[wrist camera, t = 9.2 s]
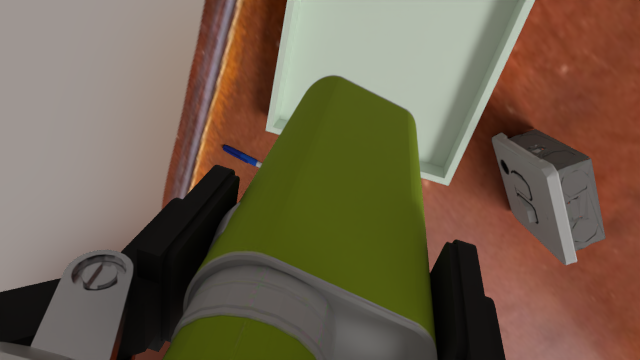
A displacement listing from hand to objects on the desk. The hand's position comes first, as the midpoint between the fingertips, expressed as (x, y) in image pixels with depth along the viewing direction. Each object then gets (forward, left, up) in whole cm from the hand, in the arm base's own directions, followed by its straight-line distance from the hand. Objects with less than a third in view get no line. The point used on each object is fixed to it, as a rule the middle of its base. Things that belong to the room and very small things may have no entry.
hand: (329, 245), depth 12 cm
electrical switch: (+7, +16, -28) cm, 33 cm away
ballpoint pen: (+16, -9, -29) cm, 34 cm away
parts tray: (0, 0, -28) cm, 28 cm away
